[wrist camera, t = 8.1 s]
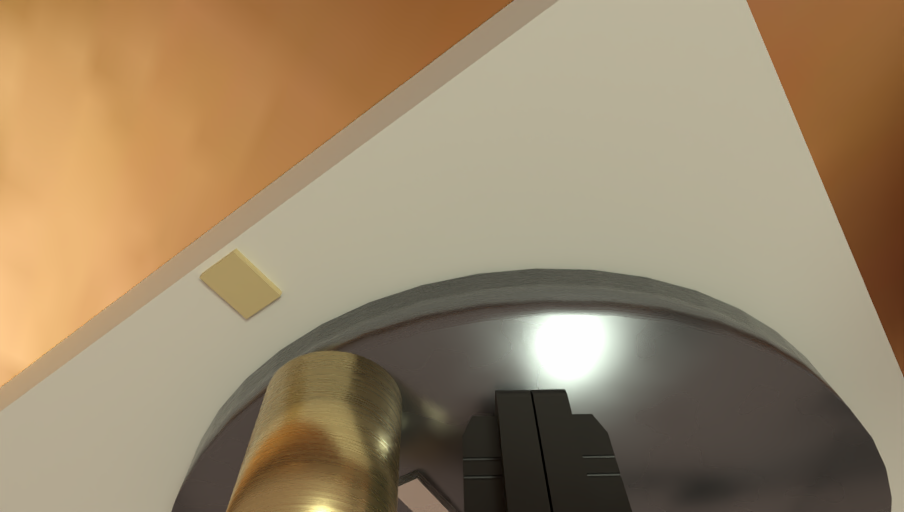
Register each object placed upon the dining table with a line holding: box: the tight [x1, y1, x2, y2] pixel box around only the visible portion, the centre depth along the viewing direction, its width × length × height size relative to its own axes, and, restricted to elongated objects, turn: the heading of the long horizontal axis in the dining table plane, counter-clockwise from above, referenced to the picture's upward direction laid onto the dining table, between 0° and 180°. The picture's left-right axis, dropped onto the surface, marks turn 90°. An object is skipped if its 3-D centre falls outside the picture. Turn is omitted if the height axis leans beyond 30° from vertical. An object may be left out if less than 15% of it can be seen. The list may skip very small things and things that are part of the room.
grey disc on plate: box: [0, 0, 904, 512], centre depth 22 cm, size 28×26×3 cm
